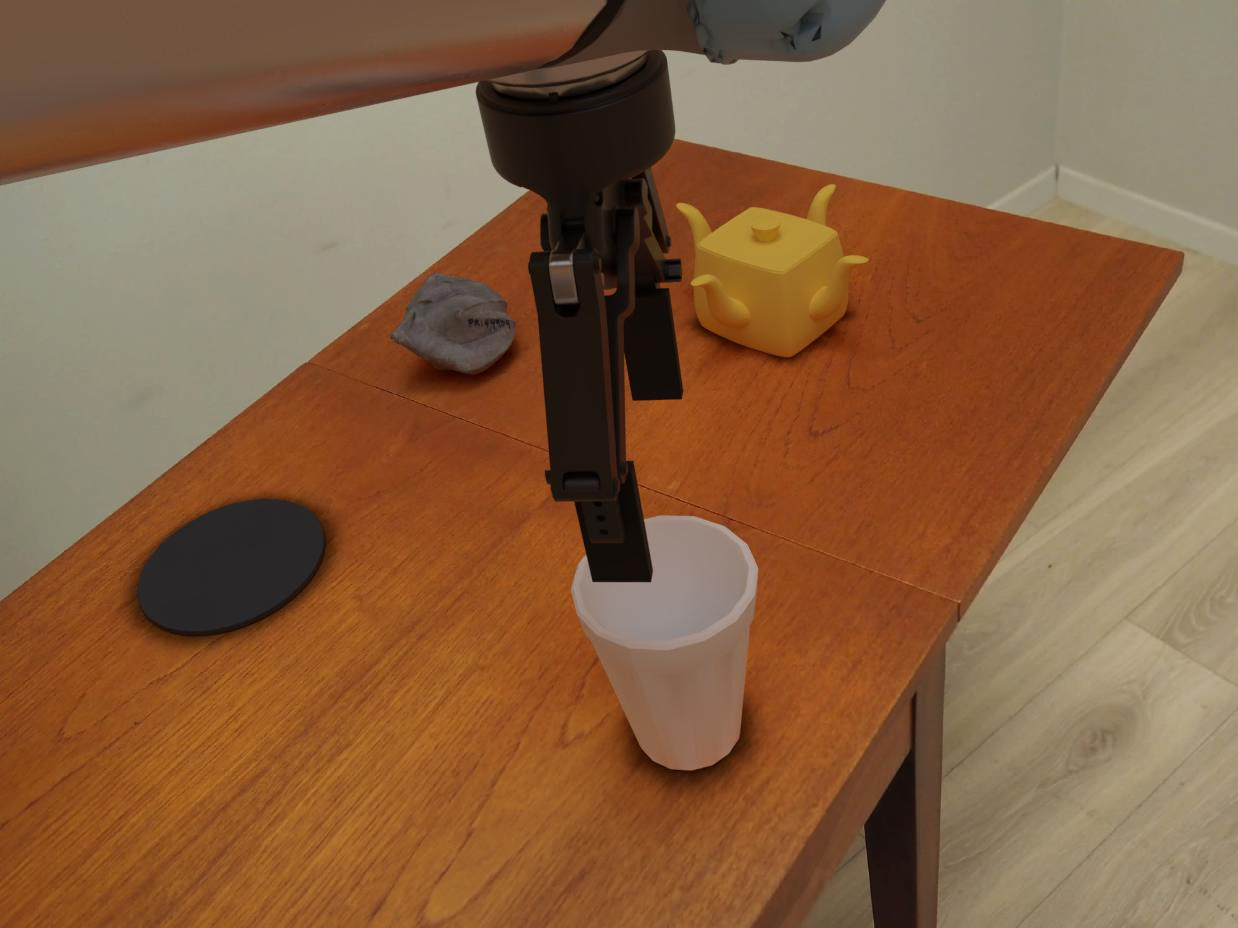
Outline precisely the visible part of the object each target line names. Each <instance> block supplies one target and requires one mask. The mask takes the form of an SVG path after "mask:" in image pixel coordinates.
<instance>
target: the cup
mask: <svg viewBox="0 0 1238 928" xmlns="http://www.w3.org/2000/svg"><path fill="white" fill-rule="evenodd" d="M644 522H645V528H646V533H647V539H648V545H649V550H650V556H651V561H652V567H653V574H652V580H651V582H592V578H591V573H590V569H589V565H588V560H587V556H586V554H585V555H584V556H583V557H582V558H581V559H580V561H579V562H578V563H577V566H576V569H575V573H574V577H573V579H572V583H571V587H570V592H571V596H572V599H573V604H574V608H575V612H576V616H577V618H578V620H579V623H580V626H581V628H582V630H583V633H584V636H585V637H586V638H587V639H588V641H590V642H591V644H592V647H593V649H594V651H595V653H596V655H597V657H598V659H599V662H600V663H601V666H602V668H603V670H604V672H605V674H606V676H607V679H608V680H609V683H610V686H611V687H612V689H613V692H614V693H615V696H616V698H617V700H618V702H619V704H620V706H621V708H622V711H623V713H624V716H625V717H626V720H627V721H628V724H629V726H630V727H631V730H632V732H633V734H634V737H635V738H636V740H637V742H638V745H639V747H640V748H641V750H642V751H643V752H644V754H646V755H647V756H648V757H649V758H650V759H651V760H652V761H653V762H655V763H656V764H659V765H661V766H663V767H666V768H667V769H670V770H677V771H679V770H680V771H695V770H700V769H703V768H707V767H712V766H713V765H715V764H716V763H718V762H719V761H721V760H722V759H724V757H726V756H727V755H729V754H730V753H731V751H732V749H734V746H735V745H736V743H738V741H739V740H740V735H741V728H742V727H741V725H742V716H743V704H744V696H745V684H746V676H747V675H746V673H747V665H748V664H747V663H748V655H749V653H748V652H749V644H750V632H751V624H752V622H753V621H754V619H755V611H756V603H757V595H758V583H759V582H758V581H759V580H758V579H759V567H758V564H757V562H756V560H755V558H754V555H753V553H752V551H751V549H750V547H749V544H748V543H746V542H745V541H744V540H743V539H742V538H741V537H739V536H738V535H737V534H736V533H734V532H733V531H732V530H730V529H729V528H728V527H727V526H725V525H722V524H719V523H716V522H713V521H710V520H707V519H704V518H701V517H698V516H695V515H665V514H663V515H661V514H660V515H656V516H653V517H648V518H644Z"/></svg>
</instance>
